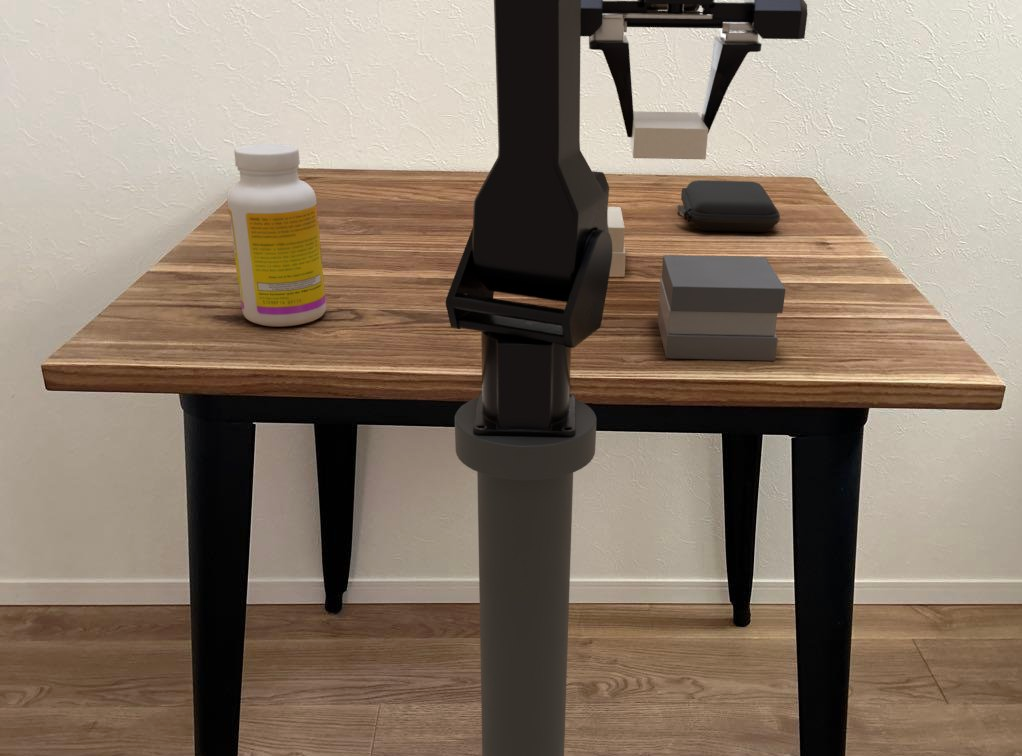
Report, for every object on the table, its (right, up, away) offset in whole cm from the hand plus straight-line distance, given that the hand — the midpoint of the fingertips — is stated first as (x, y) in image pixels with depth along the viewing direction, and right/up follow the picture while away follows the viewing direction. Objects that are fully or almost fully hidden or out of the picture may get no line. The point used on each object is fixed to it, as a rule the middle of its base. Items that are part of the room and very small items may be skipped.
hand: (666, 137), depth 83 cm
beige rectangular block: (0, -1, 0) cm, 1 cm away
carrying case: (+10, +4, +34) cm, 35 cm away
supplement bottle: (-31, -14, +2) cm, 34 cm away
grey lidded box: (+3, -16, -2) cm, 17 cm away
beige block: (-5, -6, +17) cm, 19 cm away
